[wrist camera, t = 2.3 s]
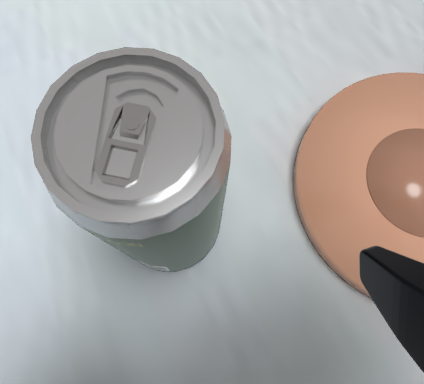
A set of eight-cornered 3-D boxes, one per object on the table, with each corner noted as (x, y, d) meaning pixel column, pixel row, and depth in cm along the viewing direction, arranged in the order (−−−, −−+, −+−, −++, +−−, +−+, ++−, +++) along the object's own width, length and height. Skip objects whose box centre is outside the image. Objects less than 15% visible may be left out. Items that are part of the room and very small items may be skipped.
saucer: (453, 372, 19) (471, 377, 18) (244, 196, 21) (246, 189, 20) (576, 179, 22) (598, 172, 21) (380, 45, 25) (390, 32, 23)
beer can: (208, 282, 20) (209, 254, 9) (112, 261, 20) (-12, 207, 9) (227, 189, 22) (251, 59, 10) (138, 171, 22) (61, 24, 10)
